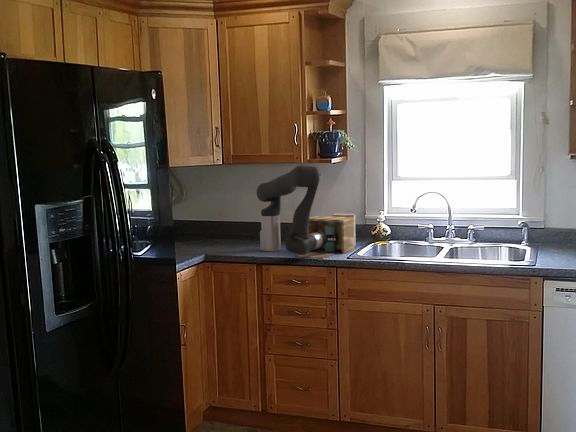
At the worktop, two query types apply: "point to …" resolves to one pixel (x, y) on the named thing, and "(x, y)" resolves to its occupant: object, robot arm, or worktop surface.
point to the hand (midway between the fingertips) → (332, 235)
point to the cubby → (342, 228)
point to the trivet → (315, 255)
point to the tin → (331, 245)
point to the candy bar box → (347, 216)
